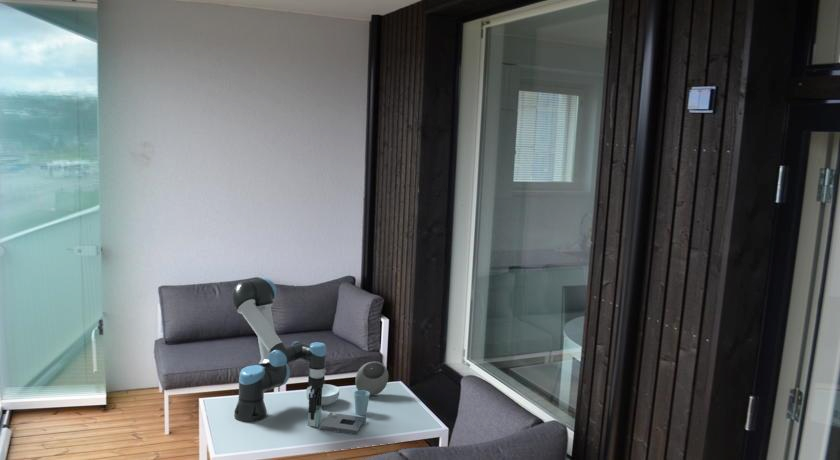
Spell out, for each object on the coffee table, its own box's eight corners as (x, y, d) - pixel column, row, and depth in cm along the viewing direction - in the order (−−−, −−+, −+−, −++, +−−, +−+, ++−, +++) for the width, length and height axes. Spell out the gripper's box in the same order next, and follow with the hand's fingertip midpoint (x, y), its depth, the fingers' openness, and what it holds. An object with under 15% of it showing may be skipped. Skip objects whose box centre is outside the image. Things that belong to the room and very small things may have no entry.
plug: (307, 425, 329) (308, 407, 328) (310, 422, 333) (311, 404, 332) (317, 427, 328) (318, 408, 327) (320, 423, 332) (321, 405, 331)
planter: (356, 400, 364) (358, 365, 362) (352, 395, 371) (354, 360, 368) (389, 396, 372) (391, 362, 370) (384, 391, 379) (386, 358, 376)
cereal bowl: (311, 395, 367) (311, 382, 366) (342, 398, 365) (343, 385, 364) (301, 407, 350) (302, 393, 349) (333, 411, 348) (334, 397, 347)
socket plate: (319, 429, 326) (319, 423, 325) (330, 416, 341) (330, 410, 341) (357, 434, 323) (357, 429, 322) (365, 421, 338) (366, 415, 338)
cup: (370, 415, 346) (372, 395, 345) (356, 416, 343) (357, 396, 342) (365, 409, 353) (366, 389, 352) (351, 411, 350) (352, 391, 348)
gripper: (318, 383, 318) (315, 432, 321) (330, 371, 335) (327, 417, 338) (302, 380, 319) (300, 429, 323) (314, 369, 336) (312, 415, 339)
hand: (314, 423), depth 330 cm, fingers closed on plug, 4 cm apart
